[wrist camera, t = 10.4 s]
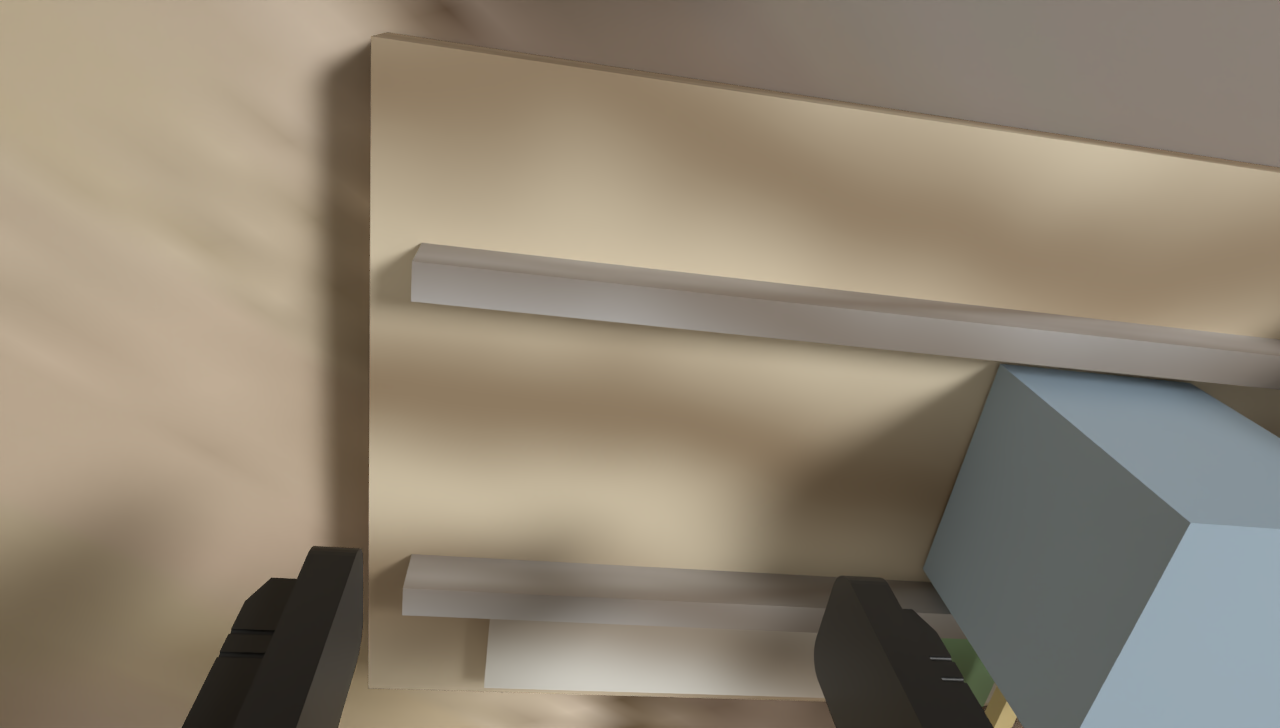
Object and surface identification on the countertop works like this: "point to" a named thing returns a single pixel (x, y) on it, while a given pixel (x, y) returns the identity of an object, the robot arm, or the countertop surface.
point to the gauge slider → (1116, 554)
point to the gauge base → (734, 354)
